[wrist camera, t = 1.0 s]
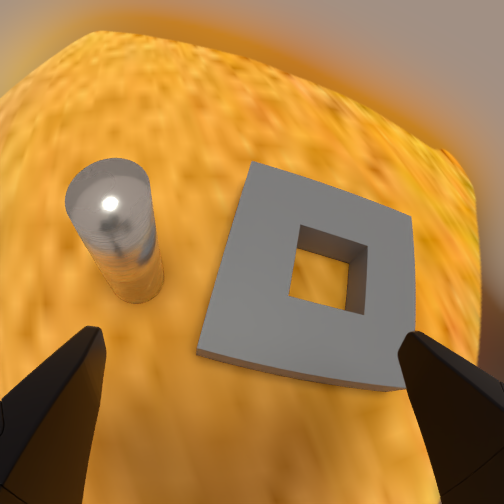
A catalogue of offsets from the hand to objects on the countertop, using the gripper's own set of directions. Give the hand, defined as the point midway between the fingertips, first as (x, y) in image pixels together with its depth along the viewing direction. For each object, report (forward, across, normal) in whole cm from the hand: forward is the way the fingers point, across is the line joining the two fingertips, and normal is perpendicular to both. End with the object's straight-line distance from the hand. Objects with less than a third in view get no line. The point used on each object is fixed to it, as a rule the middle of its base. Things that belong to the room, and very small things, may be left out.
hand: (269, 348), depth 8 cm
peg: (+15, +7, +7) cm, 18 cm away
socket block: (+15, -8, +7) cm, 18 cm away
